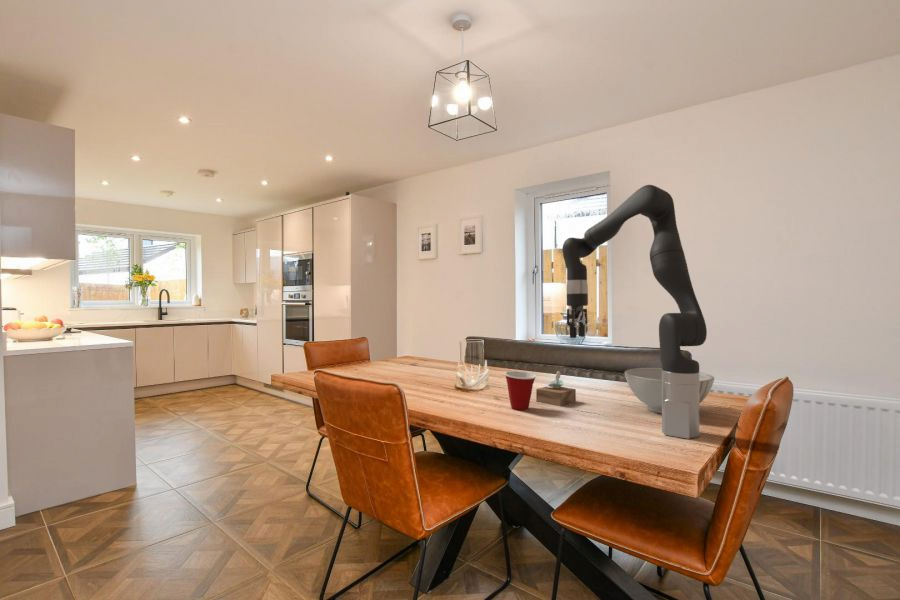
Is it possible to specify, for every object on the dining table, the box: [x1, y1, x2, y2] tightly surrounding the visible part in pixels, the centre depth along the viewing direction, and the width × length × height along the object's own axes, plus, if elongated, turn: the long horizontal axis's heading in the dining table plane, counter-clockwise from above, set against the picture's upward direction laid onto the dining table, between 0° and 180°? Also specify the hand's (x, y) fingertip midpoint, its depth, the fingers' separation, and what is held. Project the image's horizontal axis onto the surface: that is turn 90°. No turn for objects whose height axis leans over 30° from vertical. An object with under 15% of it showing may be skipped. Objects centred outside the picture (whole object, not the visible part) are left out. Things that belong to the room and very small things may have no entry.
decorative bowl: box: [624, 367, 715, 414], centre depth 150 cm, size 27×27×12 cm
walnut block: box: [535, 386, 577, 407], centre depth 163 cm, size 10×10×5 cm
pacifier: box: [545, 370, 564, 389], centre depth 165 cm, size 7×6×6 cm
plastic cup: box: [504, 370, 537, 411], centre depth 153 cm, size 11×11×12 cm
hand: (577, 337), depth 164 cm, fingers open, 8 cm apart
